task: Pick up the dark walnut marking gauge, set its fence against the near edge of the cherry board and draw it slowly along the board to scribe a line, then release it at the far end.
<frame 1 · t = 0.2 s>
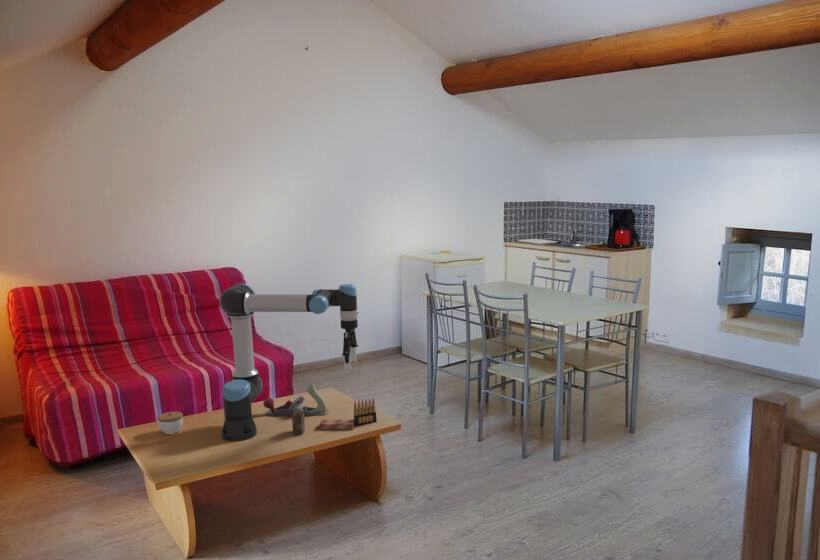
hand: (350, 365, 319), 27 cm above the table, tool pointing down, fingers open, 13 cm apart
ammunition clip: (365, 424, 324), on the table, touching board
gauge: (299, 432, 315), on the table
board: (337, 427, 320), on the table
hand plane: (296, 414, 341), on the table
lidded jar: (171, 432, 319), on the table
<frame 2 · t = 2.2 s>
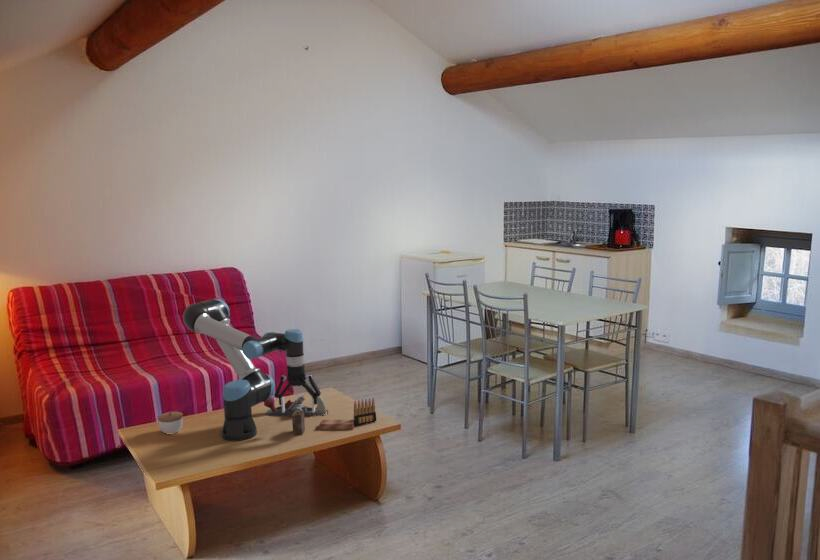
hand: (298, 411, 314), 10 cm above the table, tool pointing down, fingers open, 13 cm apart
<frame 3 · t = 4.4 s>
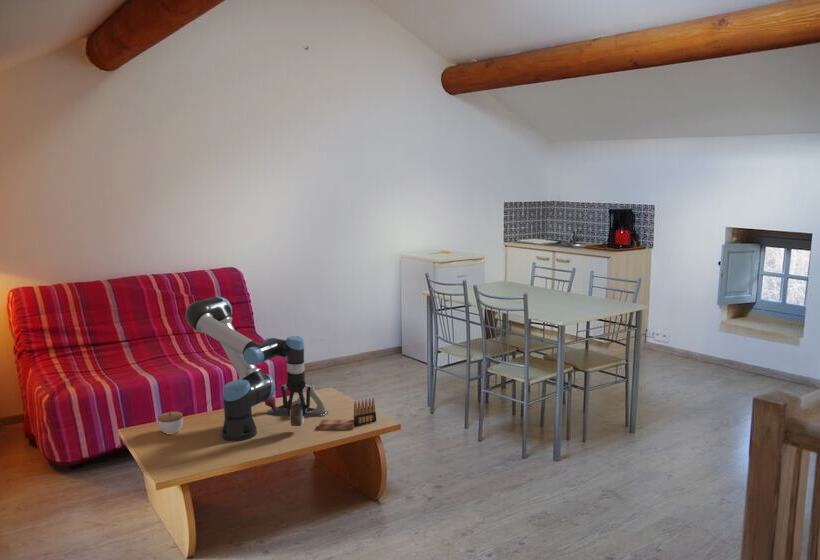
hand: (297, 422, 315), 4 cm above the table, tool pointing down, fingers closed on gauge, 4 cm apart
gauge: (297, 423, 315), point 4 cm above the table, touching gripper
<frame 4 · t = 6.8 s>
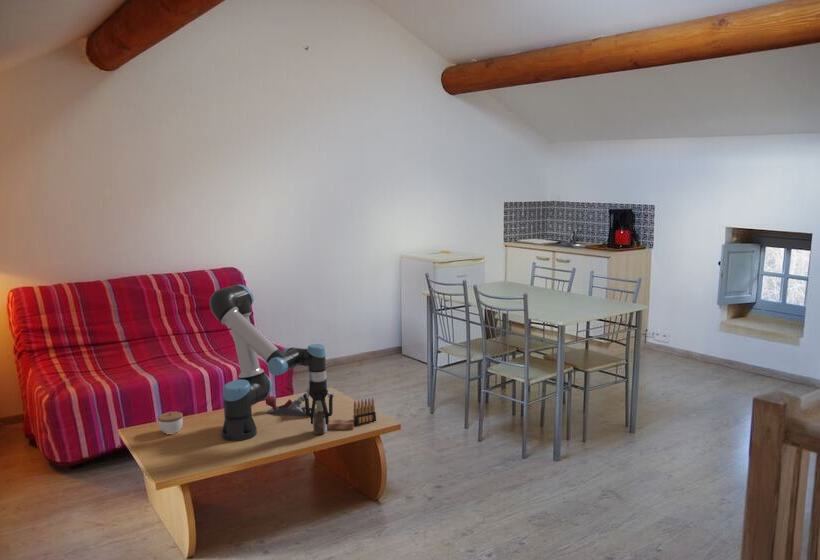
hand: (320, 430, 314), 1 cm above the table, tool pointing down, fingers closed on gauge, 4 cm apart
gauge: (320, 431, 314), on the table, touching gripper
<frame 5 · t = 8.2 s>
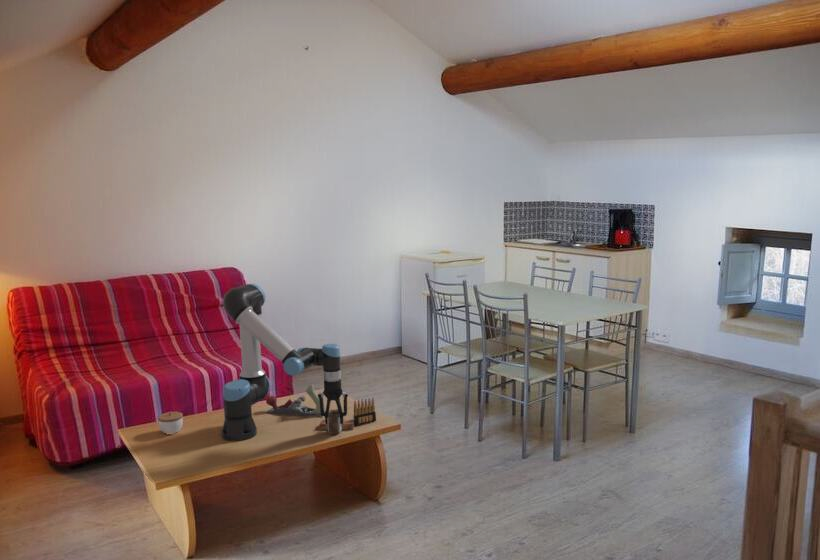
hand: (334, 430, 314), 1 cm above the table, tool pointing down, fingers closed on gauge, 4 cm apart
gauge: (334, 431, 314), on the table, touching gripper
when the fingers open (0 cm above the table, at t = 9.5 s): gauge stays where it is, on the table.
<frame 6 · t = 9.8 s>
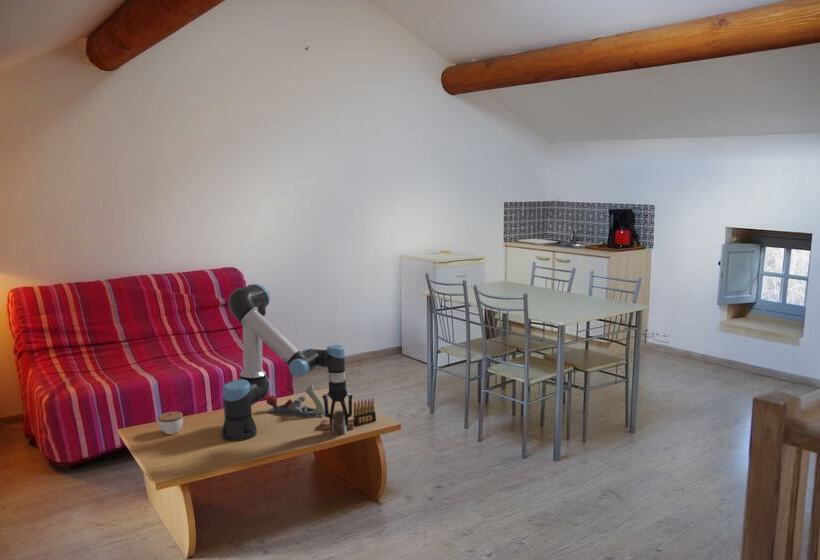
hand: (339, 431, 314), 0 cm above the table, tool pointing down, fingers open, 4 cm apart
gauge: (339, 432, 314), on the table
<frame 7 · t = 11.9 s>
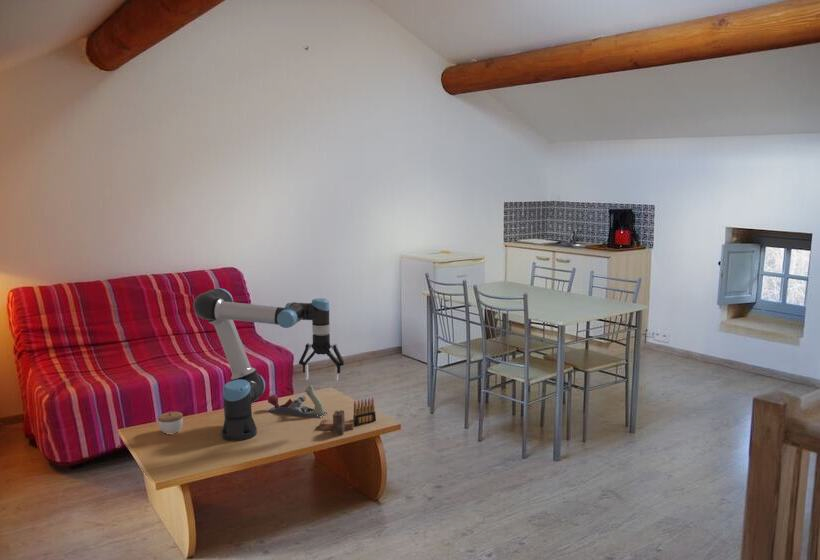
hand: (321, 380, 318), 22 cm above the table, tool pointing down, fingers open, 13 cm apart
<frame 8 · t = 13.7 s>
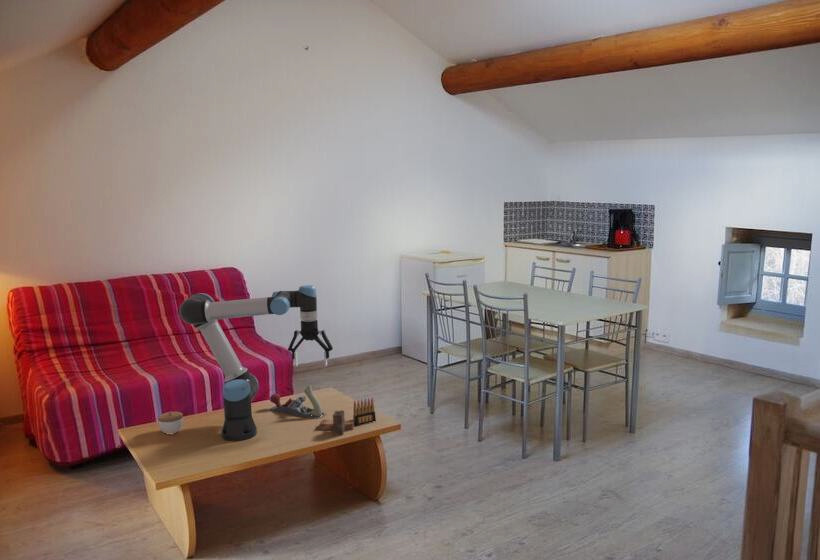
hand: (311, 365, 324), 27 cm above the table, tool pointing down, fingers open, 13 cm apart
at the end: gauge inside the target area (0.4 cm from its centre), on the table; gauge tilted 0°; the gripper is holding nothing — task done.
